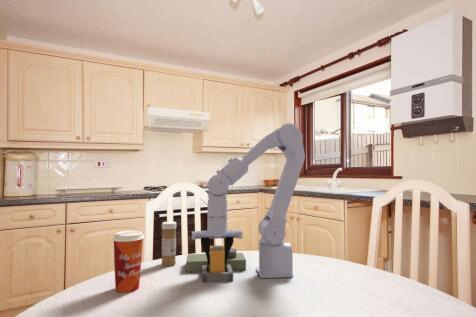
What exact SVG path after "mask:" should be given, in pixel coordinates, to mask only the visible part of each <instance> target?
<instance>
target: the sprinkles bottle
mask: <svg viewBox="0 0 476 317" xmlns="http://www.w3.org/2000/svg"><path fill="white" fill-rule="evenodd" d="M161 229H162V234H161V235H162V236H161V265H162V266H164V267H171V266H175V265H176V263H177V262H176V253H177V234H176V233H177V232H176V229H177V221H163V222H162V223H161Z"/></svg>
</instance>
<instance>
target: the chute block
mask: <svg viewBox="0 0 476 317" xmlns="http://www.w3.org/2000/svg"><path fill="white" fill-rule="evenodd" d="M216 272H226V271H225V250H224V245H210V271H209V273H216Z"/></svg>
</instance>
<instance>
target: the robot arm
mask: <svg viewBox="0 0 476 317" xmlns="http://www.w3.org/2000/svg"><path fill="white" fill-rule="evenodd" d="M303 137H304V136H303V133H302V132H301V130H300V129H299V128H298V127H297V125H295V124H293V123H291V122H290V123H289V122H288V123H285V124H282V126H281V127H279V128H277V129H275V130H274V131H272V132H271V133H269V134H267V135H266V136H263V138H261V140H259V141H258V142H257V143H256V144H255V145H254V146H253V147H252V148H251V149H250V150H249V151H247V152H246V153H245V154H244V155H243V156H242V157H239V156H235V157H234V158H230V159H228V161H227V162H228V163H226V164H225V165H224V166H223V167H222V168H221V169H217V170H216V171H215V173H216V174H214V175H213V176H212V177H210V179H209V180H208V182H207V189H208V191H209V192H208V194H207V198H208V199H207V224H206V225H207V230H196V231H191V240H192V241H193V240H200V243H201V246H202V248H203V250H204V254H206V257H207V262H208V265H210V246H211V240H212V239H215V240H216V239H217V240H218V239H223V246H224V250H225V265H226V264H227V258H228V254H229V251H230V249H231V248H232V247H233V245H234V242H235V241H234V239H243V230H232V229H231V230H229V229H228V200H227V192H228V190H229V188H230V187H229V186H233V185H234V184H236V183H237V182H238V181H239V180H240V179H241V178H243V177H244V176H245V175H246V174H248V172H249V165H251V164H252V163H253V162H255V161H256V160H257V159H258V158H260V156H262V155H263V154H265V152H267V151H268V150H270V149H275V148H278V149H279V150H280V151H281V152H282V154H283V155H284V158H285V159H286V161H285V162H284V163H285V164H284V166H283V169H282V172H281V175H280V178H279V181H278V184H277V186H276V189H275V193H274V195H273V197H272V201H271V204H270V207H269V209H268V210H267V211H266V212H265V215H264V217H263V218H262V219H261V220H260V222H259V224H258V232H259V234H260V236H261V238H259V241H258V245H259V246H258V248H259V249H258V250H259V251H258V253H259V254H258V258H259V259H258V262H259V263H258V267H255V270H256V272H257V274H258V276H259V278H261V279H273V278H274V279H275V278H293V277H294V272H293V271H294V270H293V268H294V267H293V266H294V265H293V248H292V245H291V243H290V242H285V241H284V240H285V238H286V234H287V233H286V224H287V213H288V210H289V207H290V203H291V200H292V198H293V194H294V192H295V188H296V186H297V183H298V180H299V177H300V174H301V172H302V169H303V165H304V162H305V159H306V154H305V148H304V144H303V143H304V142H303V140H304V139H303Z"/></svg>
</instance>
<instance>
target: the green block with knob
mask: <svg viewBox="0 0 476 317" xmlns="http://www.w3.org/2000/svg"><path fill="white" fill-rule="evenodd" d="M185 262H186V263H185V272H186V273H193V272H195V273H196V272H198V273H199V272H201V281H202V282H201V283H211V282H212V283H213V282H214V283H215V282H233V281H234V271H246V270H247V259H246V256H244V253H243V252H237V249H236V248H232V247H231V249H230V251H229V254H228V258H227V264H226V265H225V271H224V272H211V273H210V265H208V262H207V257H206V253H190V254H189V253H188V254H187V256H186V261H185Z"/></svg>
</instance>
